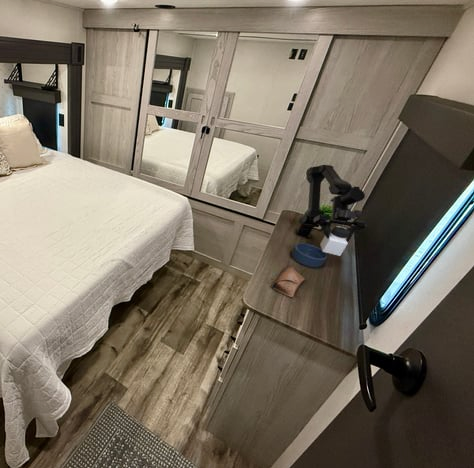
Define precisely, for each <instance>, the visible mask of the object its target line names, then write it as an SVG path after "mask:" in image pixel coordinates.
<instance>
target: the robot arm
mask: <svg viewBox="0 0 474 468" xmlns="http://www.w3.org/2000/svg"><path fill="white" fill-rule="evenodd" d="M305 175H306V181H307V183H308V184H309V190H308V203H307V204H308V207H307V210H306V211H304V214H303V215H302V216H301V217H299V218H298V223H299V224H300V225H299V228H298V229H297V230H296V235H297V236H302V237H305V238H306V239H311V234H312V231H313V230H314V228H319V227H320V228H321V229H322V231H323V233H324V236H325V235H326V237H327V239H328V238H329V237H330V233H331V226H332V224H335V225H340V226H347V229H348V230H349V231H350V233H349V235H348V237H347V238H346V241H347V243H348V242H350V240H351V239H352V237H353V235H354V233H355V232H356V231H360V230H363V229H365V228H367V222H366V221H365V220H364V221H363V220H357V219H358V218H361V216H362V210H359V209H354V210H351V208H349V206H352V205H355V204H356V203H359V202H361V201H363V200H365V197H366V194H365V192H364V191H363V190H362V189H361V188H360V186H355V185H354V186H352V184H351V183H350V182H348V181H346V180H344V179H342V178H341V177H340V175H339V174H338V173H337V172H336V170H335V169H334V166H333V165H332V164H321V165H316V166H310V167H309V168H307V170H306V172H305ZM324 180H326V182H327V183H328V184H329V185H328V190H329V193H330V194H331V195H335V196H333V197H332V198H331V199H330V203H331V202H332V209H331V210H330V214H331V216H330V215H328V214H325V211H324V210H321V209H320V207H321V189H322V182H323V181H324ZM336 195H337V196H336ZM351 220H352V221H351Z"/></svg>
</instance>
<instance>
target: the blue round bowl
mask: <svg viewBox="0 0 474 468" xmlns="http://www.w3.org/2000/svg"><path fill="white" fill-rule="evenodd" d="M290 255H291V257H292V258H293V260H295V262H298V263H299V264H301V265H304V266H307V267H311V268H321V267H322V266H323V265H324V264H325V262H326V260H327V258H328V253H325V252H323V251H322V248H321V247H318V246H315V245H312V244H309V243H305V242H304V243H296V244H295V246H294V248H293V249H292V251H291V253H290Z"/></svg>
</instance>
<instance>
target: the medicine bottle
mask: <svg viewBox="0 0 474 468" xmlns="http://www.w3.org/2000/svg"><path fill="white" fill-rule="evenodd" d="M349 233H350V231H349V230H348V228H346V227H344V226H341V225H340V226H338V225H336V226H333V229H332V230H331V231H330V237H329V238H328V239H327V237H326V235H325V234H324V237H323V238H322V239H321V241H320V244H319V245H320V249H321V250H322V251H323V252H325V253H326V254H330V255H334V256H337V257H341V256H342V255H343V252H344V251H345V250H346V248H347V246H348V245H349V243H348V242H347V241H346V238H347V237H348V235H349Z"/></svg>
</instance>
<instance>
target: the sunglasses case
mask: <svg viewBox="0 0 474 468" xmlns="http://www.w3.org/2000/svg"><path fill="white" fill-rule="evenodd" d="M305 280H306V278H305V277H303V276H302V275H301V274H300V273H299V272H298V271H296V270H295V269H294V268H293V266H292V265H287V266H286V267H285V269H284V270H283V271H282V272H281V273H280V275H279V276H278V277H277V278H276V280H275V281H274V283H272V289H273V290H275V291H277V292H278V293H280V294H282V295H284V296H287V297H289V298H294V296H295V294H296V292H297V290H298V289H299V287H300V286H301V284H302V283H304V281H305Z"/></svg>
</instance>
